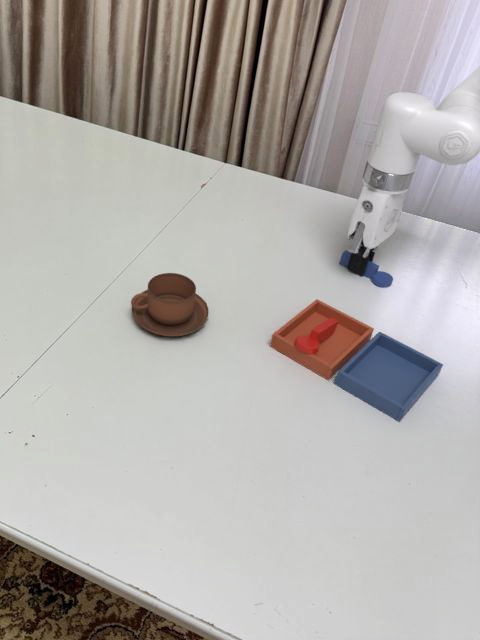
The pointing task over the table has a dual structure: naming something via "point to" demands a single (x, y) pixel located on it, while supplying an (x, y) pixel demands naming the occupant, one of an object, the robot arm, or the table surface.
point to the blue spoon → (370, 271)
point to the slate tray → (388, 375)
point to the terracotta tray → (332, 349)
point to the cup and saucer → (170, 306)
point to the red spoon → (316, 336)
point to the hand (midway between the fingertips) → (358, 269)
